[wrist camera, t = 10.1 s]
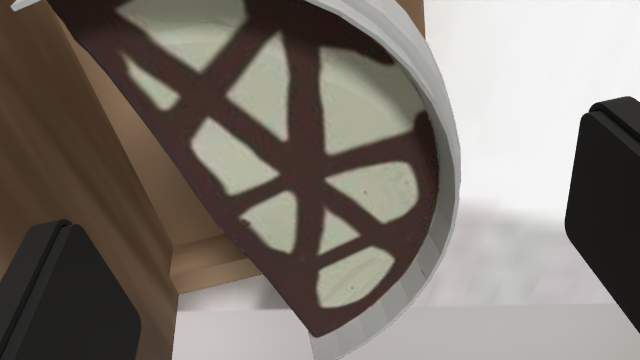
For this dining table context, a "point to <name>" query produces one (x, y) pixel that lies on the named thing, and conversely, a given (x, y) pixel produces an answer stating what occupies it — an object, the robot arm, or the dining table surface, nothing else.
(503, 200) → the dining table surface
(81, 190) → the low wooden shelf
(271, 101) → the food container
